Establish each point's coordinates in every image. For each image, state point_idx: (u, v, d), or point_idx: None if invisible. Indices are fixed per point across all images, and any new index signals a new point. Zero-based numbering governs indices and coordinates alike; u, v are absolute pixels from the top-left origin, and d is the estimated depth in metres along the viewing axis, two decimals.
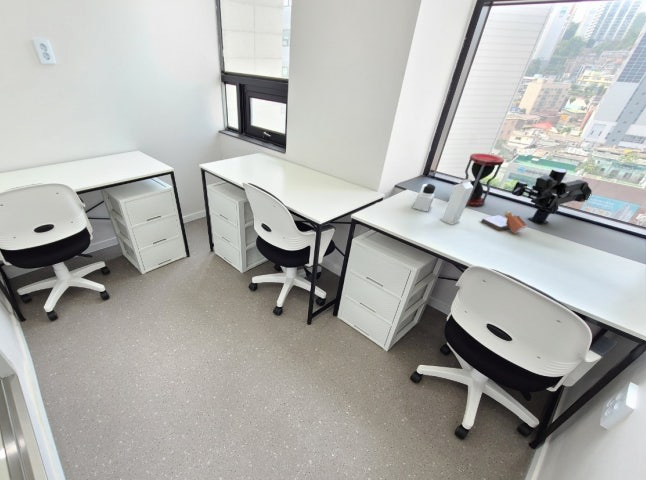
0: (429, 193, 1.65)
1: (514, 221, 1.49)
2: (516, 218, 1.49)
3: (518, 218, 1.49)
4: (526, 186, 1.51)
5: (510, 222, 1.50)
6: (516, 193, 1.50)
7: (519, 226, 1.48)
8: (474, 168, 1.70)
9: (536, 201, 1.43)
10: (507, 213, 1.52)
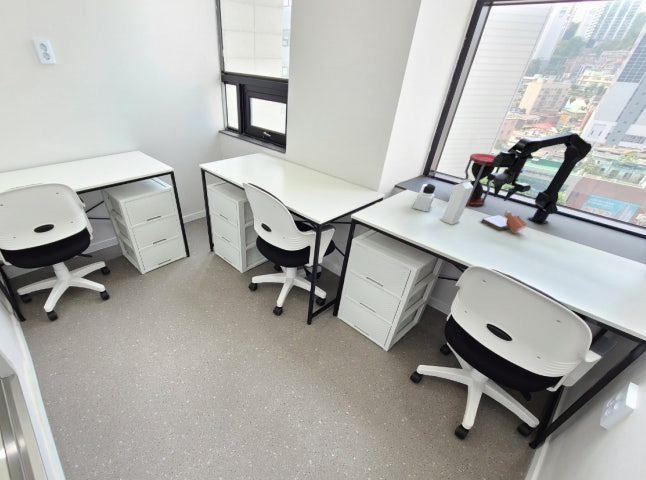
0: (429, 193, 1.65)
1: (514, 221, 1.49)
2: (516, 218, 1.49)
3: (518, 218, 1.49)
4: None
5: (510, 222, 1.50)
6: (498, 190, 1.56)
7: (519, 226, 1.48)
8: (474, 168, 1.70)
9: (509, 196, 1.51)
10: (507, 213, 1.52)
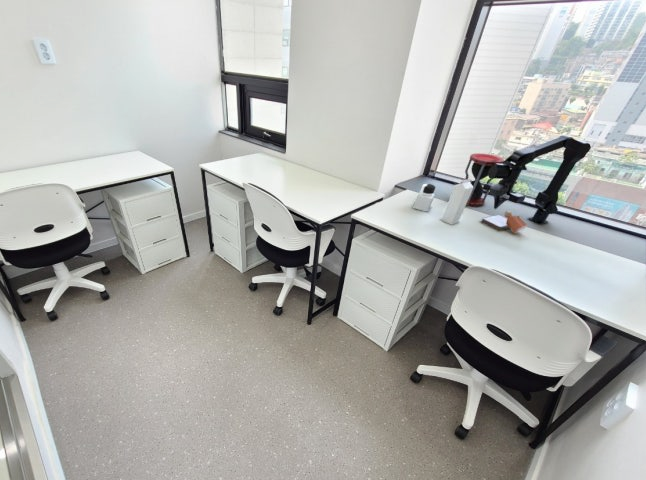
0: (429, 193, 1.65)
1: (514, 221, 1.49)
2: (516, 218, 1.49)
3: (518, 218, 1.49)
4: (492, 186, 1.56)
5: (510, 222, 1.50)
6: None
7: (519, 226, 1.48)
8: (474, 168, 1.70)
9: (499, 204, 1.56)
10: (507, 213, 1.52)
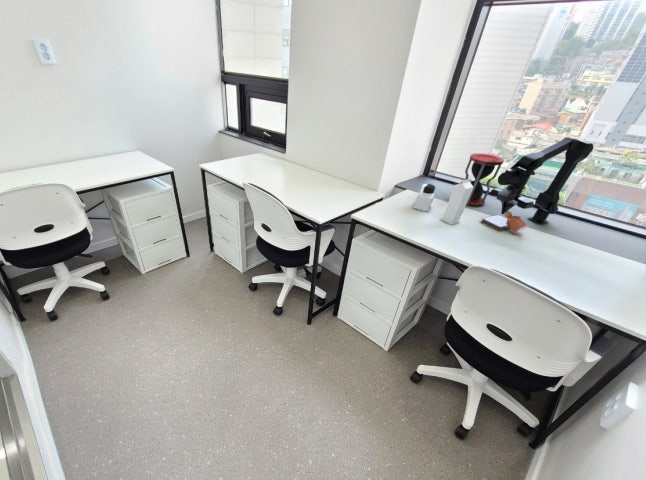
0: (429, 193, 1.65)
1: (514, 221, 1.49)
2: (516, 218, 1.49)
3: (518, 218, 1.49)
4: (499, 192, 1.53)
5: (510, 222, 1.50)
6: None
7: (519, 226, 1.47)
8: (474, 168, 1.70)
9: (507, 210, 1.53)
10: (507, 213, 1.52)
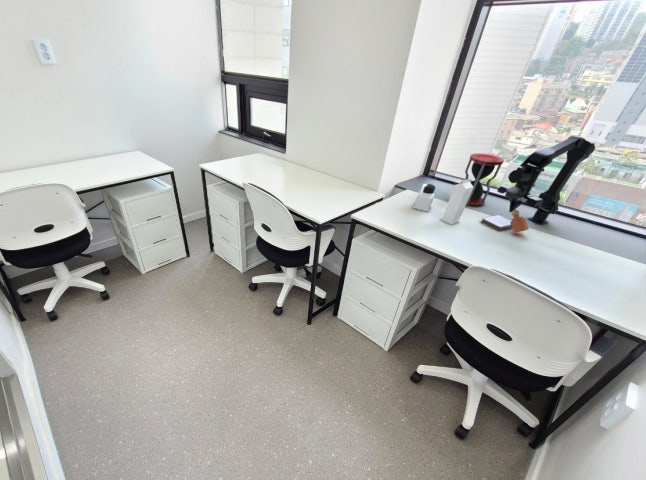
0: (429, 193, 1.65)
1: (519, 223, 1.47)
2: (522, 220, 1.47)
3: (523, 220, 1.47)
4: None
5: (514, 223, 1.48)
6: None
7: (521, 229, 1.47)
8: (474, 168, 1.70)
9: (515, 208, 1.50)
10: (515, 212, 1.49)
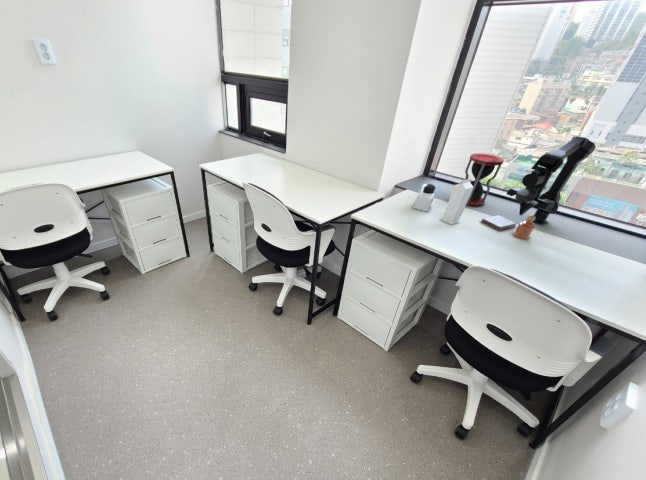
0: (429, 193, 1.65)
1: (525, 231, 1.45)
2: (529, 230, 1.45)
3: (531, 230, 1.45)
4: (517, 191, 1.46)
5: (522, 228, 1.46)
6: None
7: (522, 237, 1.47)
8: (474, 168, 1.70)
9: (525, 211, 1.46)
10: (531, 219, 1.43)
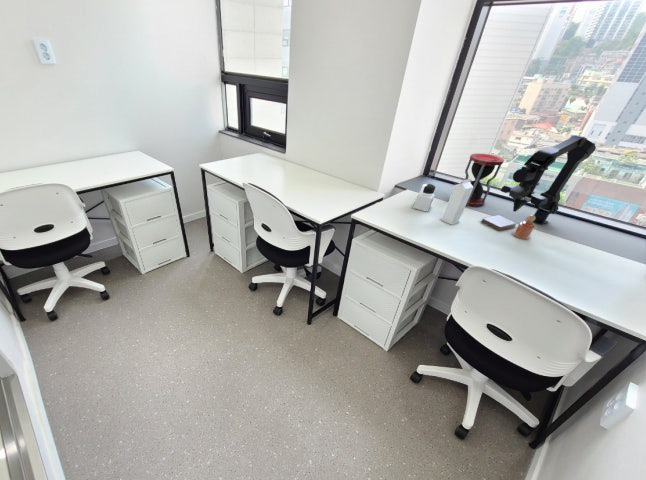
0: (429, 193, 1.65)
1: (525, 231, 1.45)
2: (529, 230, 1.45)
3: (531, 230, 1.45)
4: (511, 188, 1.48)
5: (522, 228, 1.46)
6: None
7: (522, 237, 1.47)
8: (474, 168, 1.70)
9: (519, 207, 1.48)
10: (531, 219, 1.43)
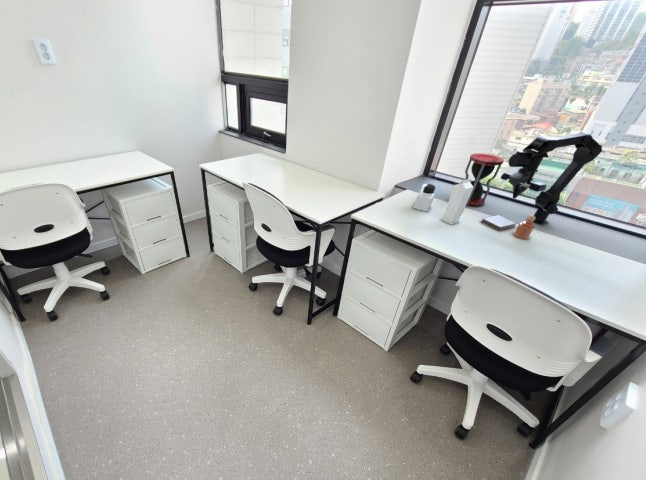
0: (429, 193, 1.65)
1: (525, 231, 1.45)
2: (529, 230, 1.45)
3: (531, 230, 1.45)
4: None
5: (522, 228, 1.46)
6: None
7: (522, 237, 1.47)
8: (474, 168, 1.70)
9: (519, 194, 1.52)
10: (531, 219, 1.43)
